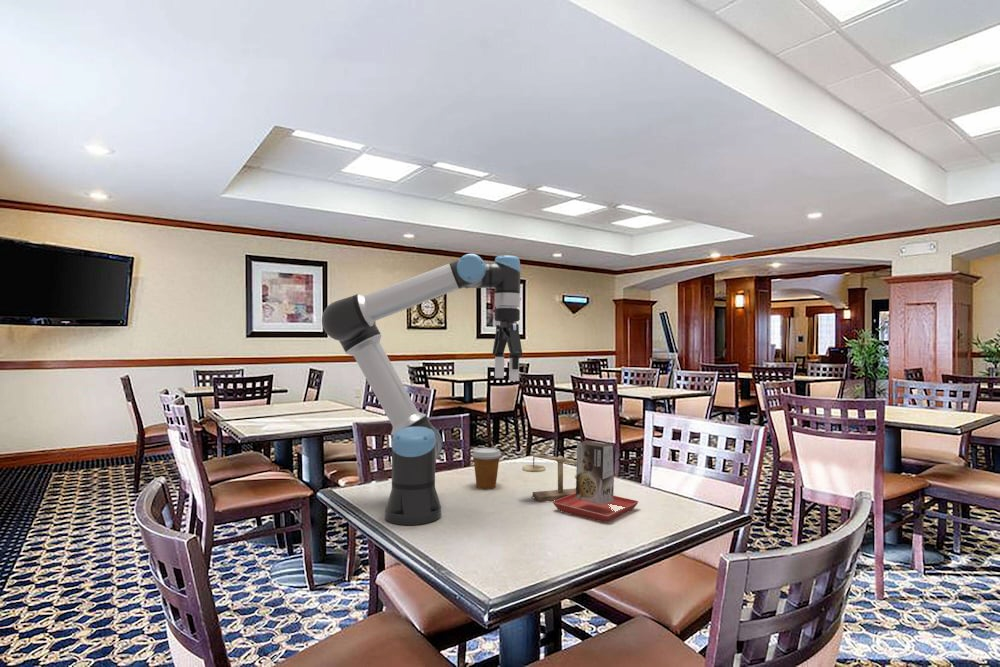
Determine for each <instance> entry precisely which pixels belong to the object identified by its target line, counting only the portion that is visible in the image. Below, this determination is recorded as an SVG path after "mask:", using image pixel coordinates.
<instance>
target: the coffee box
mask: <svg viewBox="0 0 1000 667" xmlns="http://www.w3.org/2000/svg"><path fill="white" fill-rule="evenodd" d="M615 449H616V445H615V444H614V443H608V442H601V441H593V440H583V441H580V442H577V443H576V461H577V464H576V473H575V475H576V478H575V482H576V483H575V488H576V499H579V500H583V501H587V502H591V503H595V504H599V505H604V504H607V503H611V502H613V496H614V489H615V485H614V484H615V483H614V482H615V454H616V452H615V451H616V450H615Z"/></svg>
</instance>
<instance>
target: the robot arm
mask: <svg viewBox="0 0 1000 667" xmlns="http://www.w3.org/2000/svg"><path fill="white" fill-rule="evenodd" d="M459 289H494V302H493V304H494V307H495V309H494V321H495V322H499V324H495V325H496V326H495V335H494V336H495V337H494V341H493V342H494V343H493V349H492V355H494V379H504V378H505V357H506V354H505V350H506V346H507V348H508V352H509V355H508V360H509V362H508V364H509V365H508V366H509V367H508V368H509V369H508V373H509V374H508V375H509V376H508V381H509V382H519V381H520V358H521V357H522V356H523V349H522V343H521V336H520V332H519V330H520V326H519V323H515V322H519V321H520V319H521V317H520V316H521V314H520V312H521V311H520V310H521V309H519V307H520V305H521V304H520V302H521V300H522V298H521V297H520V295H521V261H520V259H519V257H518V256H515V255H506V254H505V255H498V256H495V258H494V262H485V261H484V260H483V258H481V256H479V255H478V254H475V253H468V254H464V255H462V256H461V257H460V259H458V260H455V261H452V262H450V263H447V264H444V265H442V266H439V267H436V268H434V269H432V270H428V271H426V272H424V273H420V274H418V275H415V276H413V277H409V278H407V279H405V280H402V281H399V282H397V283H394V284H391V285H388V286H386V287H384V288H381V289H378V290H376V291H372V292H370V293H367V294H365V295H364V294H362V293H356V294H354V295H351V296H348V297H345V298H341V299H338V300H336V301H334V302H333V301H332V302H331V303H330V304H329V305H328V306H326V308H325V309H324V310H323V313H322V316H321V317H322V318H321V326H322V329H323V330H324V332H325V333H326V334H327V336H328V337H330V338H331V339H333V340H334V341H338V342H339V344H340V345H341V347H342V349H343V351H344V352H345V354H346V355H349V356H351V357H352V356H353V357H354V359H355V362H356V363H357V365H358V367H359V369H360V370H361V373H363V375H364V377H365V379H366V381H367V382H368V385H369V386H370V387H371V390H372V392H373V394H374V395H375V397H376V399H377V400H378V403H379V404H380V407H381V408H382V410H383V411H384V413H385V415H386V417H387V419H388V420H389V422H390V424H391V426H392V429H391V433H390V434H391V436H392V440H391V445H390V447H391V490H390V492H389V497H388V500H387V502H386V504H385V505H386V506H385V509H384V519H385V520H386V521H387V522H389V523H391V524H395V525H401V526H416V525H424V524H430V523H433V522H436V521H437V520H439V519H440V518H441V517H442V504H441V502H440V499H439V496H438V492H437V489H436V460H437V459H438V458H439V456H440V455H441V452H442V447H443V440H442V436H441V434H440V432H439V430H438V429H437V428H436V427H434V426H433V425H432V423H431V421H430V420H429V418H428V416H427V414H426V413H423V412H420V411H419V410H418V409H417V407H416V405H415V403H414V401H413V399H412V398H411V396H410V395H409V393H408V391H407V389H406V387H405V385H404V383H403V382H402V380H401V378H400V376H399V375H398V372H397V371H396V370H395V367H394V366H393V364H392V362H391V360H390V358H389V357H388V355H387V353H386V350H385V349H384V348H383V345H382V344H381V339H382V333H381V332H380V330H379V328H378V326H377V324H376V321H379V320H381V319H385V318H386V317H390V316H392V315H394V314H397V313H399V312H402V311H404V310H408V309H410V308H413V307H415V306H418V305H420V304H423V303H426V302H428V301H432V300H434V299H436V298H438V297H441V296H444V295H447V294H449V293H452V292H455V291H456V290H459Z"/></svg>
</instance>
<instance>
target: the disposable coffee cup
mask: <svg viewBox="0 0 1000 667" xmlns="http://www.w3.org/2000/svg"><path fill="white" fill-rule="evenodd" d="M501 455H502V454H501V452H500V449H499V448H494V447H478V448H477V447H476V448H474V449H473V451H472V453H471V456H472V457H473V458H472V459H473V468H474V475H475V484H476V488H477V487H478V488H477V489H480V488H482V489H481V490H491V489H490V488H492V489H495V488H496V486H497V478H498V470H499V462H500V457H501ZM494 487H495V488H494Z"/></svg>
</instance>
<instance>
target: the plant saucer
mask: <svg viewBox="0 0 1000 667" xmlns="http://www.w3.org/2000/svg"><path fill="white" fill-rule="evenodd" d="M638 503H639V501H638V500H636V499H635V500H634V499H631V498H627V497H621V496H616V495H613V502H611V503H607V504H604V505H599V504H595V503H591V502H587V501H583V500H579V499H576V493H574V494H571V495H569V496H566V497H563V498H560V499H558V500H555V501H552V504H553V505H554V506H555V507H556V509H557V510H558V511H559V512H561V511H562V512H561V513H565V514H569V515H572V516H577V517H582V518H585V517H586V518H585V519H589V518H590V520H593V519H594V520H593V521H597V520H598V521H599V522H602V523H608V522H610V521H612V520H614V519H616V518H618V517H620V515H621V516H623V515H624V513H625V514H627V513H629V512H631V511H632V510H633V509H634V508H636V506H637V505H638ZM608 504H609V505H610V504H612V505H617V506H622V507H625V508H623V509H620V510H618V511H616V512H615V511H614V510H613V509H612V510H613V511H612V510H611V507H610V506H609V505H608ZM609 507H610V508H609ZM630 510H631V511H630ZM628 511H629V512H628ZM626 512H627V513H626ZM622 514H623V515H622Z"/></svg>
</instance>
